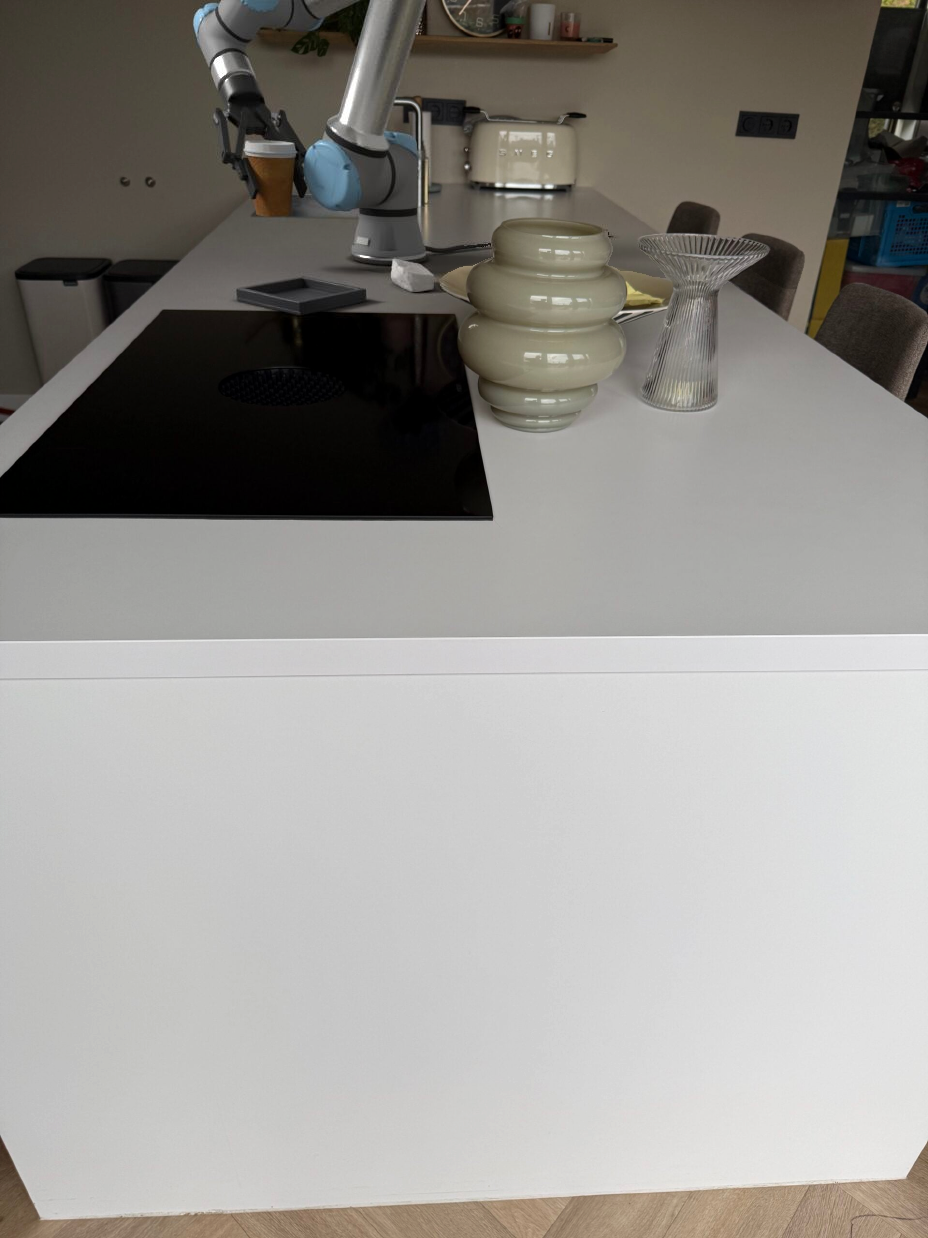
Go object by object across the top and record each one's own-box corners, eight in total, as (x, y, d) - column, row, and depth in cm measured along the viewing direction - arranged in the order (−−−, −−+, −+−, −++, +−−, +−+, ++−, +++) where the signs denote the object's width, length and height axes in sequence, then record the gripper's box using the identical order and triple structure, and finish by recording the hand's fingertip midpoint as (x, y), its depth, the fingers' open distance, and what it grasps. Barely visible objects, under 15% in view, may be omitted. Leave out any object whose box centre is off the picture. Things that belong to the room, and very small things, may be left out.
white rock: (427, 311, 163) (439, 281, 159) (394, 302, 160) (405, 272, 157) (417, 282, 169) (428, 253, 166) (385, 274, 167) (395, 244, 163)
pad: (304, 287, 161) (303, 275, 160) (366, 301, 153) (366, 288, 152) (236, 300, 150) (235, 287, 149) (300, 315, 143) (299, 302, 142)
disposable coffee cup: (237, 214, 168) (232, 141, 162) (265, 209, 176) (262, 138, 170) (281, 220, 165) (278, 145, 159) (309, 214, 173) (306, 143, 167)
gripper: (286, 104, 178) (326, 205, 175) (177, 101, 167) (218, 209, 164) (297, 74, 171) (339, 178, 169) (184, 68, 160) (228, 179, 158)
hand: (279, 193), depth 166 cm, fingers closed on disposable coffee cup, 9 cm apart
